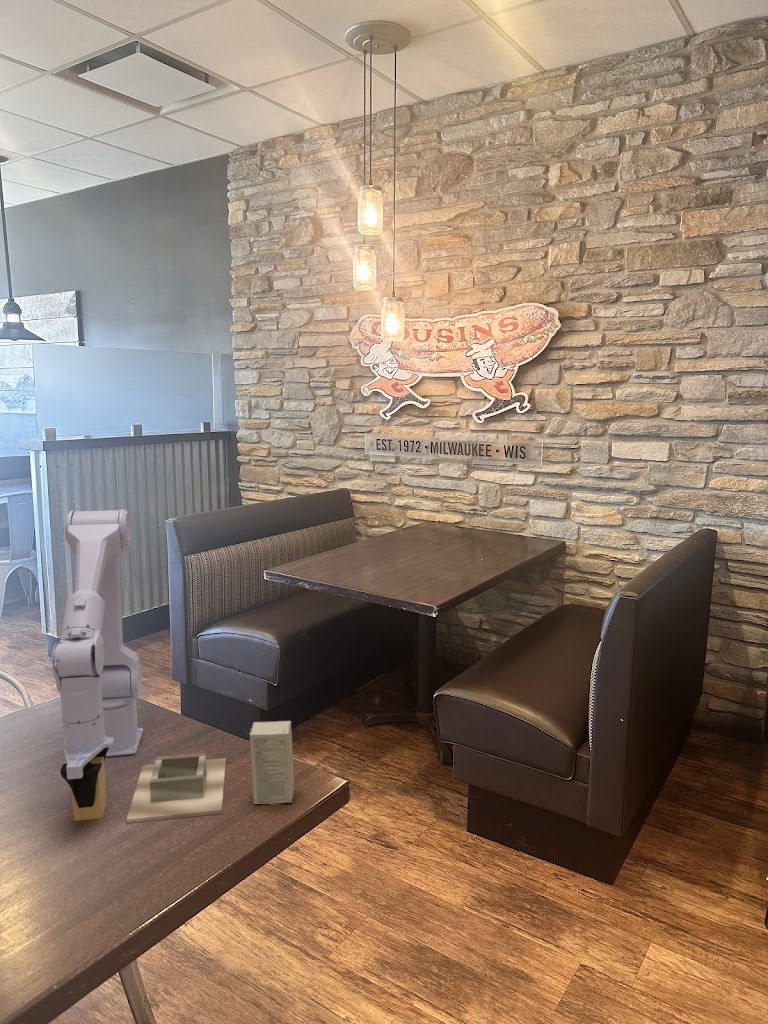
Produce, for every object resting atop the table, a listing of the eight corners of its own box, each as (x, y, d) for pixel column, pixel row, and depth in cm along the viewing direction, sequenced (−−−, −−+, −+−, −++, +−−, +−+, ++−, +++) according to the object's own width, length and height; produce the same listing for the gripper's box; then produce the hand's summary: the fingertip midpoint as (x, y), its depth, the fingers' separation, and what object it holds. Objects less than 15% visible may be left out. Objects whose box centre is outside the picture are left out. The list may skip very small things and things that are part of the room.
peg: (80, 806, 114) (76, 758, 112) (107, 803, 114) (103, 756, 113) (74, 821, 110) (69, 772, 108) (101, 818, 110) (97, 769, 109)
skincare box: (294, 789, 118) (292, 720, 116) (292, 805, 114) (290, 733, 112) (255, 790, 118) (253, 720, 116) (251, 806, 113) (249, 734, 111)
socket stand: (143, 768, 125) (141, 746, 124) (226, 761, 127) (225, 740, 126) (126, 823, 109) (125, 798, 108) (221, 813, 111) (220, 789, 111)
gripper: (100, 735, 103) (107, 822, 105) (119, 693, 117) (125, 770, 119) (48, 739, 102) (56, 827, 104) (73, 696, 116) (79, 774, 118)
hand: (89, 797), depth 112 cm, fingers closed on peg, 4 cm apart
